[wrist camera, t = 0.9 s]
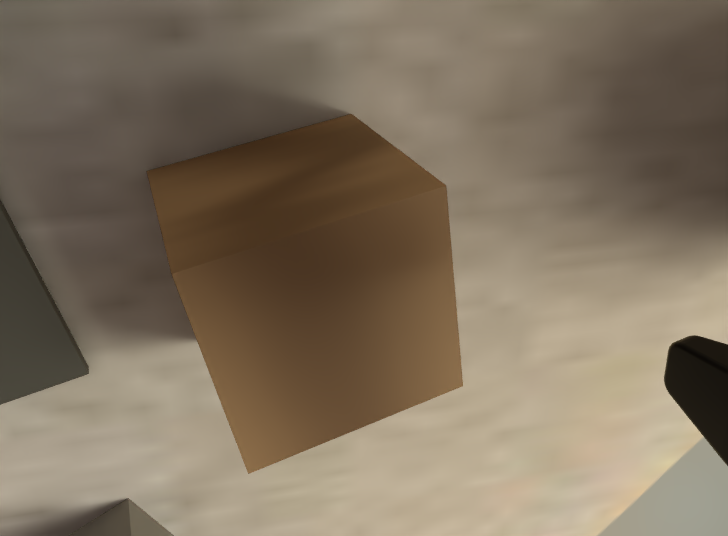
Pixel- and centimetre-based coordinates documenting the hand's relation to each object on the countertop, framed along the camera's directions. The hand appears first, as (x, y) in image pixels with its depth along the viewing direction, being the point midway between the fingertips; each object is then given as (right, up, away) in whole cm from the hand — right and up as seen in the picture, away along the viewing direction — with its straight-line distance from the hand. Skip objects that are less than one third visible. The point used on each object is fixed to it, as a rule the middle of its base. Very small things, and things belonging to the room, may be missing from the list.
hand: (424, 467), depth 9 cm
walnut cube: (-3, +4, +7) cm, 8 cm away
